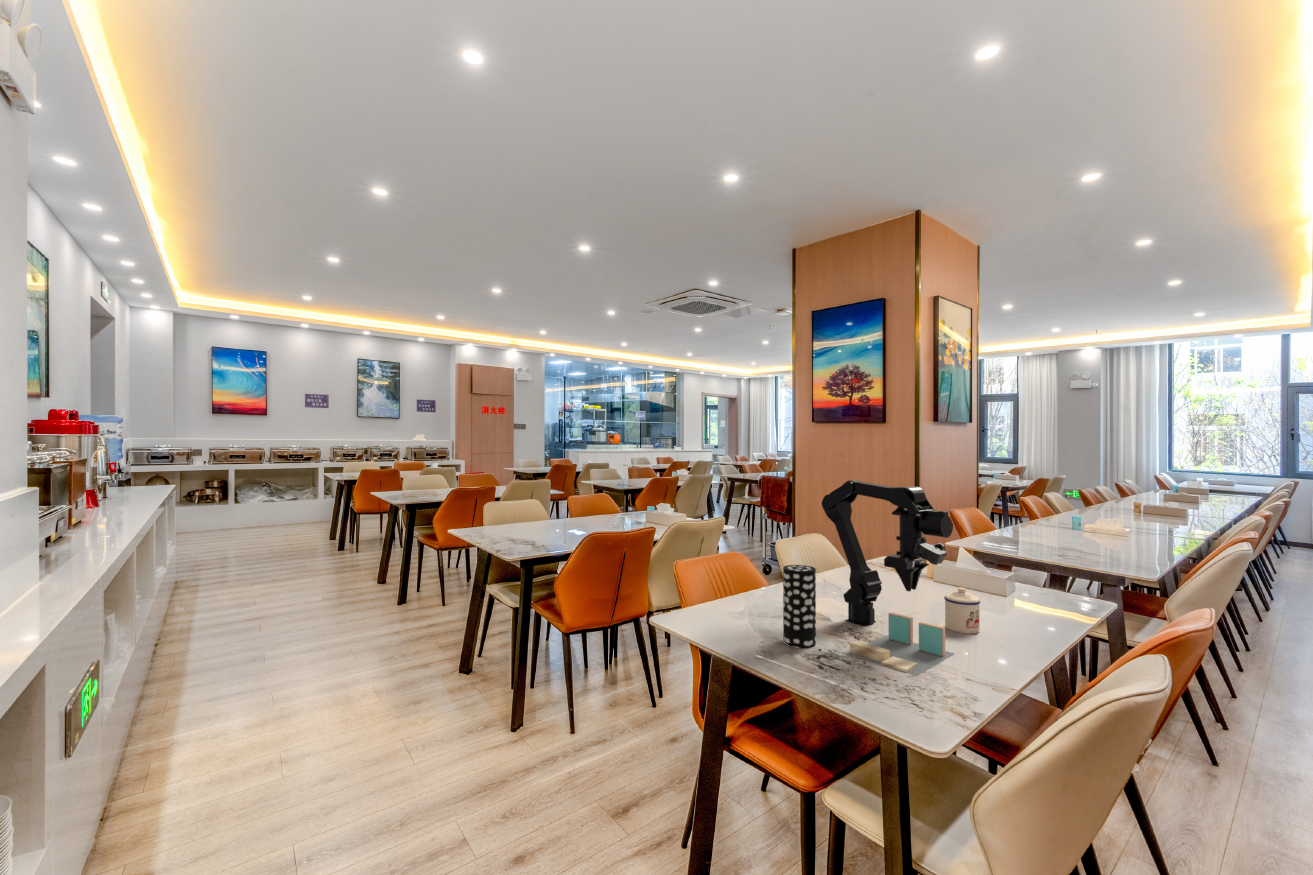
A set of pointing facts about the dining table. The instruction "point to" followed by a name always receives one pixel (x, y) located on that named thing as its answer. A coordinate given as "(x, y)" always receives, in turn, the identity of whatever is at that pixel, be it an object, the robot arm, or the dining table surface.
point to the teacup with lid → (962, 612)
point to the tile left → (901, 628)
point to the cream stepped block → (881, 656)
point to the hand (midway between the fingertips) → (911, 590)
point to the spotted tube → (799, 606)
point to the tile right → (932, 639)
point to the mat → (906, 654)
